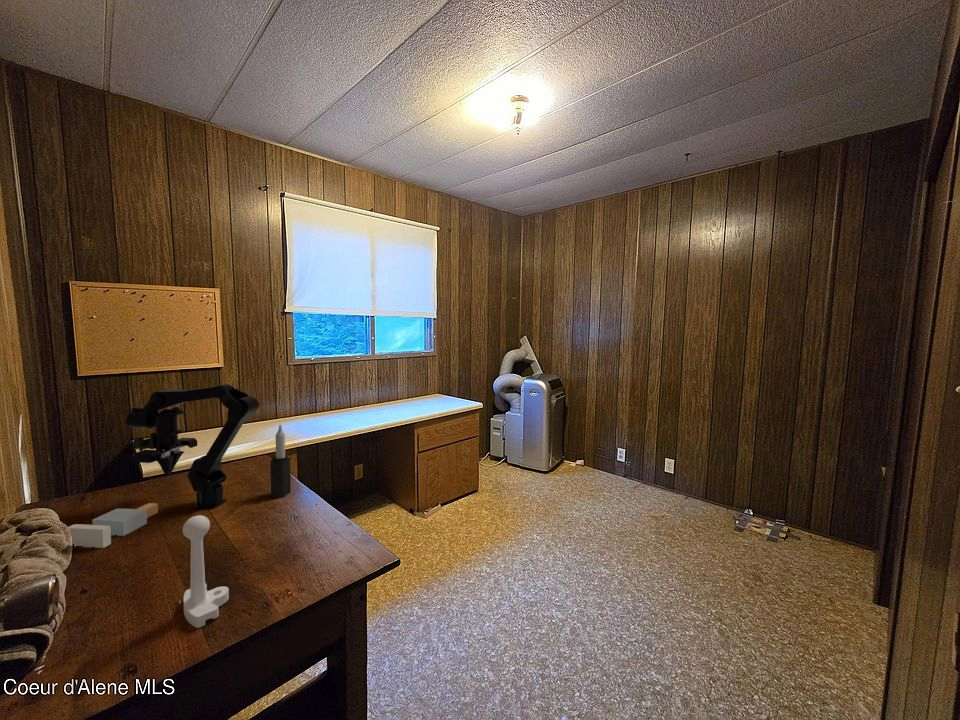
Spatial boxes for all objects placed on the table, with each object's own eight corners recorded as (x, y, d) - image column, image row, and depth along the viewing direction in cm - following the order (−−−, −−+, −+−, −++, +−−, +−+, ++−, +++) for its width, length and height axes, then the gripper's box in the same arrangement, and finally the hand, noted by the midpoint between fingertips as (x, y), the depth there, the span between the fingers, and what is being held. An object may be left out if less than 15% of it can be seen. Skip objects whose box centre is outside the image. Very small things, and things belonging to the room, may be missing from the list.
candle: (281, 498, 132) (281, 427, 130) (269, 496, 133) (268, 426, 131) (292, 492, 137) (291, 423, 135) (279, 490, 138) (279, 422, 136)
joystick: (179, 602, 80) (177, 511, 79) (221, 586, 86) (220, 500, 84) (190, 631, 73) (188, 530, 71) (236, 611, 78) (234, 517, 77)
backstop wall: (111, 543, 101) (110, 525, 101) (103, 548, 99) (102, 529, 99) (75, 542, 102) (74, 524, 101) (66, 546, 100) (66, 527, 99)
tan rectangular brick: (158, 512, 119) (157, 503, 119) (140, 522, 113) (139, 512, 113) (148, 512, 119) (148, 503, 119) (130, 521, 113) (130, 512, 113)
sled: (147, 523, 112) (146, 509, 112) (123, 535, 105) (123, 521, 105) (117, 522, 112) (117, 508, 112) (92, 534, 106) (92, 519, 105)
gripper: (167, 421, 133) (168, 464, 134) (113, 434, 114) (115, 485, 115) (198, 422, 132) (199, 465, 133) (149, 436, 114) (151, 486, 115)
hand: (167, 475), depth 124 cm, fingers closed
